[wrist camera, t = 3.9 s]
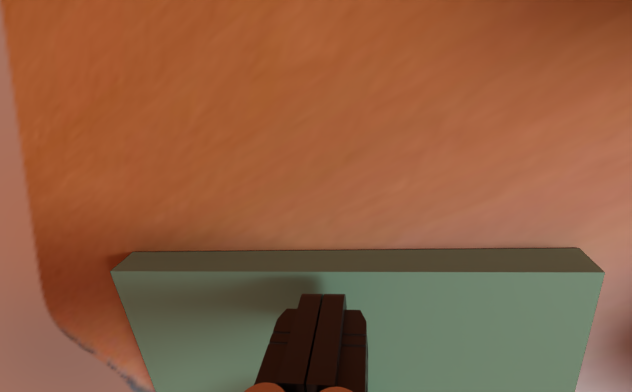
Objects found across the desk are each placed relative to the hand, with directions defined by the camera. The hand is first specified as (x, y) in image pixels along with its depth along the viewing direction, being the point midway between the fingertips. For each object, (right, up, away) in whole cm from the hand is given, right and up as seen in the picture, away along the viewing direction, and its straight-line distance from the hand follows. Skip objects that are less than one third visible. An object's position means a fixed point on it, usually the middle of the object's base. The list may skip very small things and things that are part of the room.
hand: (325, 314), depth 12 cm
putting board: (+2, -10, +7) cm, 12 cm away
